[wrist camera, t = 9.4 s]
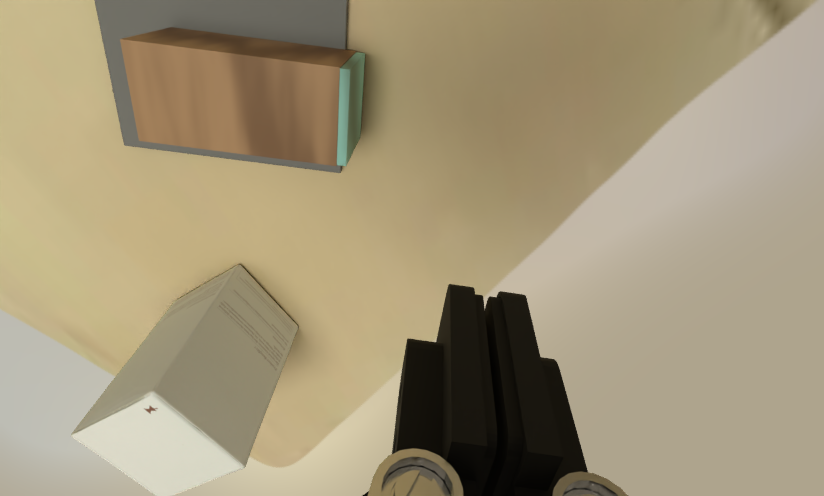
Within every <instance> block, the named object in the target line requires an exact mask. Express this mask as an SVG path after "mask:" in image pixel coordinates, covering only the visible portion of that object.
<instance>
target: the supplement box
mask: <svg viewBox="0 0 824 496" xmlns="http://www.w3.org/2000/svg"><path fill="white" fill-rule="evenodd" d="M297 330H298V326H297V325H296V323H295V322H294V321H293V320H292V319H291V318H290V317H289V316H288V315H287V314H286V313H285V312H284V311H283V310H282V309H281V308H280V307H279V306H278V304H277V303H276V302H275V301H274V300H273V299H272V298H271V297H270V296H269V295H268V294H267V293H266V292H265V291H264V290H263V289H262V287H261V286H260V285H259V284H258V283H257V282H256V281H255V280H254V279H253V278H252V277H251V276H250V275H249V273H248V272H247V271H246V270H245V269H244V268H243V267H242V266H241V265H240V264H239V265H237V266H235V267H233V268H231V269H230V270H228V271H226V272H224V273H223V274H221V275H219V276H218V277H216V278H214V279H212V280H210V281H209V282H207V283H205V284H203V285H202V286H200V287H198V288H197V289H195V290H193V291H191V292H190V293H188V294H186V295H184V296H183V297H181V298H179V299H177V300H176V301H174V302H173V304H172V305H171V306H170V308H169V309H168V310H167V312H166V313H165V314H164V315H163V317H162V318H161V319H160V321H159V322H158V323H157V324H156V326H155V327H154V328H153V330H152V331H151V332H150V333H149V335H148V336H147V337H146V339H145V340H144V341H143V342H142V344H141V345H140V346H139V348H138V349H137V350H136V351H135V353H134V354H133V355H132V357H131V358H130V359H129V360H128V362H127V363H126V364H125V365H124V367H123V368H122V369H121V370H120V372H119V373H118V374H117V376H116V377H115V378H114V380H113V381H112V382H111V383H110V385H109V386H108V387H107V389H106V390H105V391H104V393H103V394H102V395H101V396H100V398H99V399H98V400H97V401H96V403H95V404H94V405H93V407H92V408H91V409H90V411H89V412H88V413H87V414H86V416H85V417H84V418H83V420H82V421H81V422H80V423H79V425H78V426H77V427H76V429H75V430H74V431H73V433H72V434H71V436H72V437H73V438H74V439H75V440H77V441H78V442H80V443H81V444H83V445H84V446H86V447H87V448H89V449H90V450H92V451H93V452H95V453H96V454H98V455H99V456H100V457H102V458H103V459H105V460H106V461H108V462H109V463H110V464H112V465H113V466H115V467H116V468H118V469H119V470H120V471H122V472H123V473H125V474H126V475H127V476H129V477H130V478H132V479H133V480H135V481H136V482H137V483H139V484H140V485H142V486H143V487H145V488H146V489H147V490H148V491H150V492H151V493H153V494H154V495H156V496H174V495H176V494H179V493H181V492H184V491H186V490H189V489H191V488H194V487H196V486H199V485H201V484H204V483H206V482H208V481H211V480H214V479H216V478H219V477H222V476H224V475H227V474H230V473H233V472H235V471H238V470H241V469H243V468H245V466H246V464H247V460H248V458H249V455H250V452H251V449H252V447H253V444H254V441H255V439H256V436H257V433H258V431H259V428H260V426H261V423H262V421H263V418H264V415H265V413H266V410H267V408H268V405H269V403H270V400H271V397H272V395H273V392H274V390H275V387H276V385H277V382H278V380H279V377H280V374H281V372H282V369H283V367H284V364H285V362H286V359H287V356H288V354H289V351H290V348H291V346H292V343H293V340H294V338H295V335H296V332H297Z"/></svg>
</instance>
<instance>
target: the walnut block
mask: <svg viewBox="0 0 824 496" xmlns="http://www.w3.org/2000/svg"><path fill="white" fill-rule="evenodd" d="M120 42H121V48H122V53H123V58H124V64H125V69H126V74H127V80H128V85H129V90H130V96H131V101H132V106H133V112H134V117H135V122H136V128H137V133H138V138H139V141H144V142H152V143H160V144H167V145H175V146H183V147H191V148H199V149H206V150H214V151H222V152H230V153H237V154H245V155H253V156H261V157H269V158H276V159H284V160H292V161H300V162H308V163H315V164H323V165H331V166H337V165H341V166H346V165H347V163H348V161H349V159H350V157H351V155H352V153H353V151H354V149H355V147H356V145H357V143H358V141H359V139H360V132H361V115H362V98H363V80H364V63H365V53H359V52H356V51H352V50H345V49H337V48H329V47H321V46H314V45H306V44H298V43H291V42H283V41H275V40H268V39H260V38H252V37H244V36H237V35H229V34H221V33H214V32H206V31H198V30H190V29H183V28H175V27H170V28H165V29H161V30H157V31H152V32H148V33H144V34H139V35H135V36H131V37H126V38H122V39H120Z"/></svg>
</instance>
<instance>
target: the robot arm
mask: <svg viewBox="0 0 824 496" xmlns="http://www.w3.org/2000/svg"><path fill="white" fill-rule="evenodd" d="M363 496H628V495H627V494H626V493H625V492H624V491H623V490H622V489H621V488H620V487H618V486H617V485H615V484H614V483H612V482H611V481H609V480H608V479H606V478H604V477H601V476H599V475H596V474H594V473H588V471H587V467H586V464H585V460H584V456H583V453H582V449H581V445H580V442H579V438H578V434H577V431H576V427H575V424H574V420H573V416H572V413H571V410H570V405H569V402H568V398H567V394H566V391H565V387H564V384H563V380H562V377H561V373H560V369H559V366H558V364H557V362H556V361H555V360H554V359H548V358H541V357H540V354H539V349H538V346H537V341H536V337H535V332H534V328H533V324H532V320H531V316H530V311H529V307H528V303H527V298H526V296H525V295H522V294H515V293H507V292H499V293H498V295H497V297H489V298H488V301H487V304H486V308H485V310H484V301H483V296H482V295H476V294H475V291H474V288H473V287H466V286H459V285H452V284H449V286H448V289H447V293H446V298H445V303H444V308H443V312H442V317H441V322H440V327H439V332H438V336H437V341H436V342H429V341H422V340H415V339H407V344H406V350H405V356H404V362H403V368H402V375H401V382H400V389H399V397H398V406H397V415H396V424H395V433H394V442H393V451H392V455H389V456H388V457H387V458H386V459H385V460H384V461H383V462H382V463H381V464H380V465H379V467H378V469H377V471H376V473H375V474H374V476H373V480H372V483H371V486H370V490H369V491H368V492H367V493H366V494H365V495H363Z"/></svg>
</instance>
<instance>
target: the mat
mask: <svg viewBox="0 0 824 496" xmlns="http://www.w3.org/2000/svg"><path fill="white" fill-rule="evenodd" d="M95 5H96V10H97V15H98V19H99V24H100V29H101V34H102V39H103V44H104V49H105V54H106V58H107V63H108V68H109V73H110V78H111V83H112V88H113V93H114V97H115V102H116V107H117V112H118V117H119V122H120V127H121V132H122V137H123V141H124V145H125V146H133V147H141V148H148V149H156V150H164V151H172V152H180V153H187V154H195V155H203V156H211V157H219V158H226V159H234V160H242V161H250V162H258V163H265V164H273V165H281V166H289V167H297V168H304V169H312V170H320V171H328V172H336V173H341V171H342V166H341V165H337V166H331V165H323V164H315V163H308V162H300V161H292V160H284V159H276V158H269V157H261V156H253V155H245V154H237V153H230V152H222V151H214V150H206V149H199V148H191V147H183V146H175V145H167V144H160V143H152V142H144V141H139V138H138V133H137V128H136V122H135V117H134V112H133V106H132V101H131V96H130V90H129V85H128V80H127V74H126V69H125V64H124V58H123V53H122V48H121V42H120V39H122V38H126V37H131V36H135V35H139V34H144V33H148V32H152V31H157V30H161V29H165V28H170V27H175V28H183V29H190V30H198V31H206V32H214V33H221V34H229V35H237V36H244V37H252V38H260V39H268V40H275V41H283V42H291V43H298V44H306V45H314V46H321V47H329V48H337V49H345V50H346V44H347V18H348V0H95Z"/></svg>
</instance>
